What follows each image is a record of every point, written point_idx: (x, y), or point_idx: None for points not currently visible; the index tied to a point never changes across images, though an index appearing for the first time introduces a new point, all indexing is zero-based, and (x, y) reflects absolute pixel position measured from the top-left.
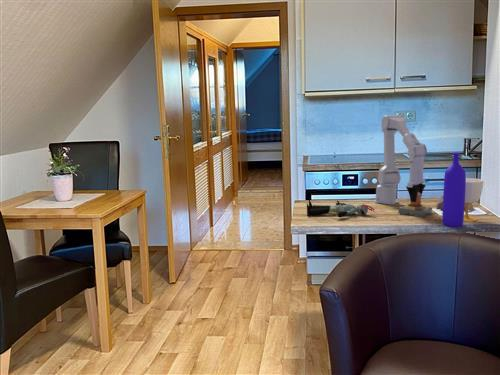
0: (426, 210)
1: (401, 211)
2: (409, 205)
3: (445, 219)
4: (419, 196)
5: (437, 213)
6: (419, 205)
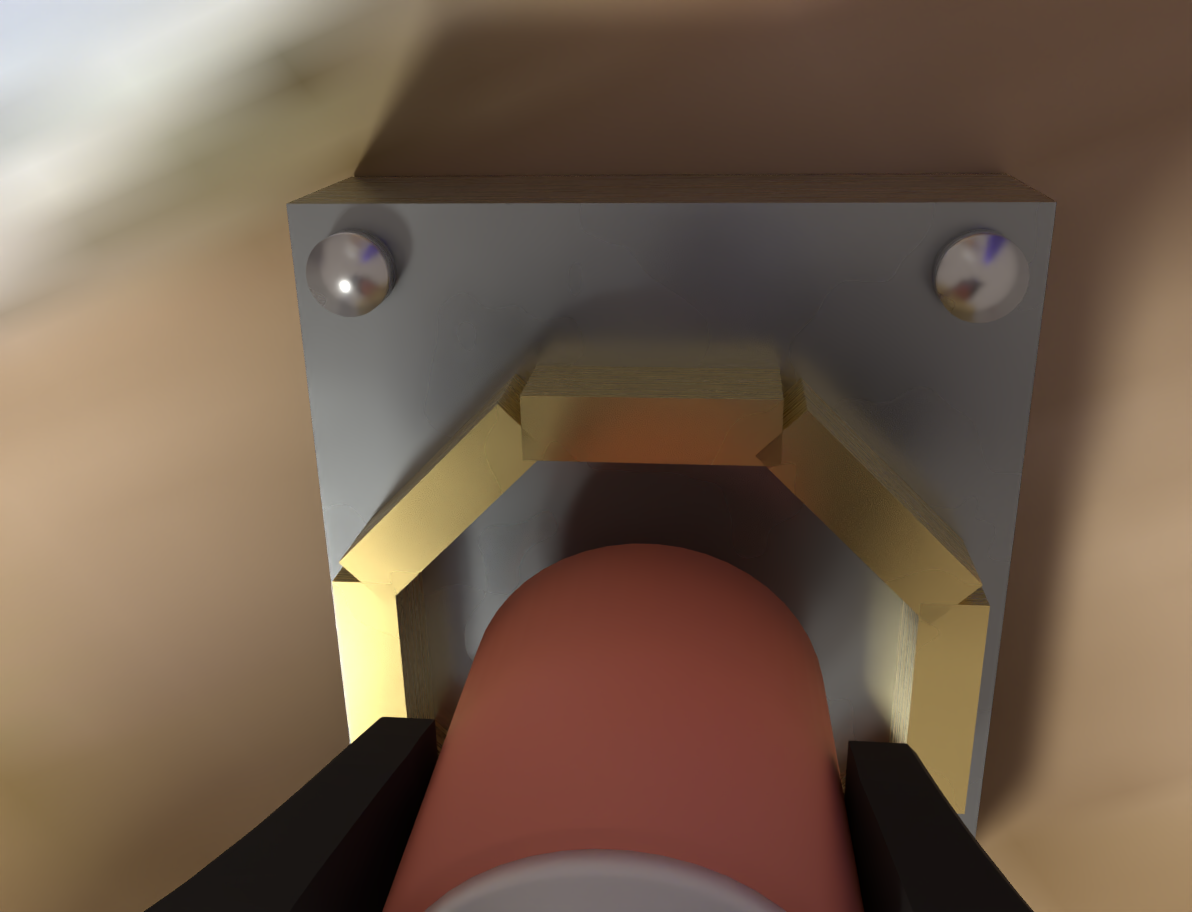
0: (831, 203)
1: None
2: None
3: None
4: (722, 792)
5: (261, 12)
6: (702, 557)
